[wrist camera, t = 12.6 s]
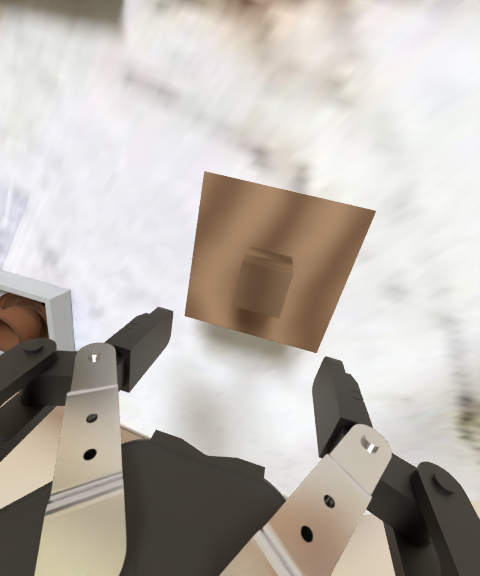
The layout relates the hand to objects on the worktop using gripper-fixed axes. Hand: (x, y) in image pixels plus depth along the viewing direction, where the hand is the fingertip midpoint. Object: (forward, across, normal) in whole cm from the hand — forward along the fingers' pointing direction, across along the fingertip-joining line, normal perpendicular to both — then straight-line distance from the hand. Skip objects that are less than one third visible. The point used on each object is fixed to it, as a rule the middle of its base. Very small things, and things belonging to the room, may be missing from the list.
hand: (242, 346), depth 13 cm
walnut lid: (+14, 0, 0) cm, 14 cm away
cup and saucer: (+23, +41, +24) cm, 53 cm away
